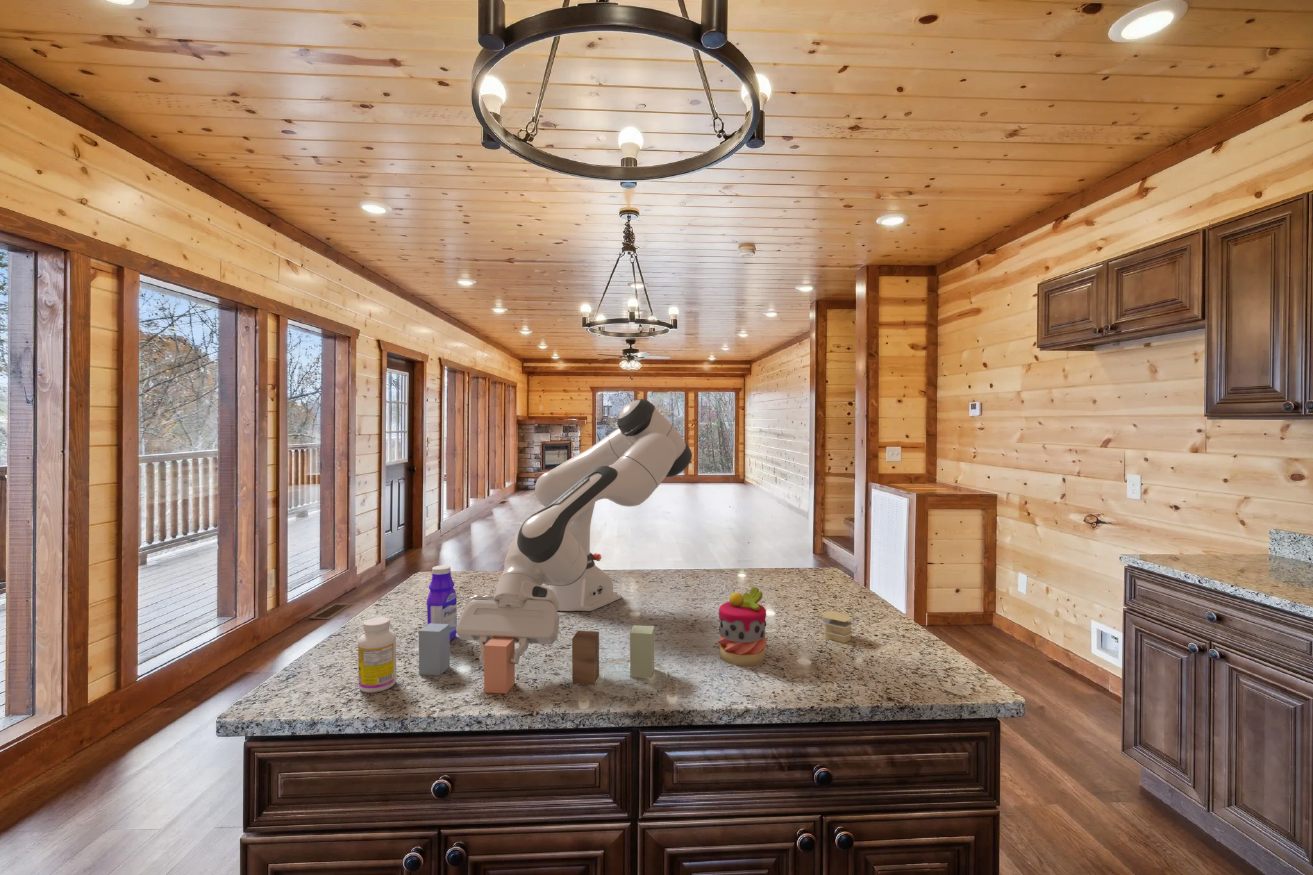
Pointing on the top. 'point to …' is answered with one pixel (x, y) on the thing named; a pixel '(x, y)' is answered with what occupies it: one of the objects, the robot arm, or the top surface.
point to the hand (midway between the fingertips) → (498, 662)
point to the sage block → (642, 651)
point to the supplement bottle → (377, 656)
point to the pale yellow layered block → (837, 626)
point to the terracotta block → (498, 665)
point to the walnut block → (585, 657)
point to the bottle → (442, 599)
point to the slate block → (434, 649)
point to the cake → (743, 629)
